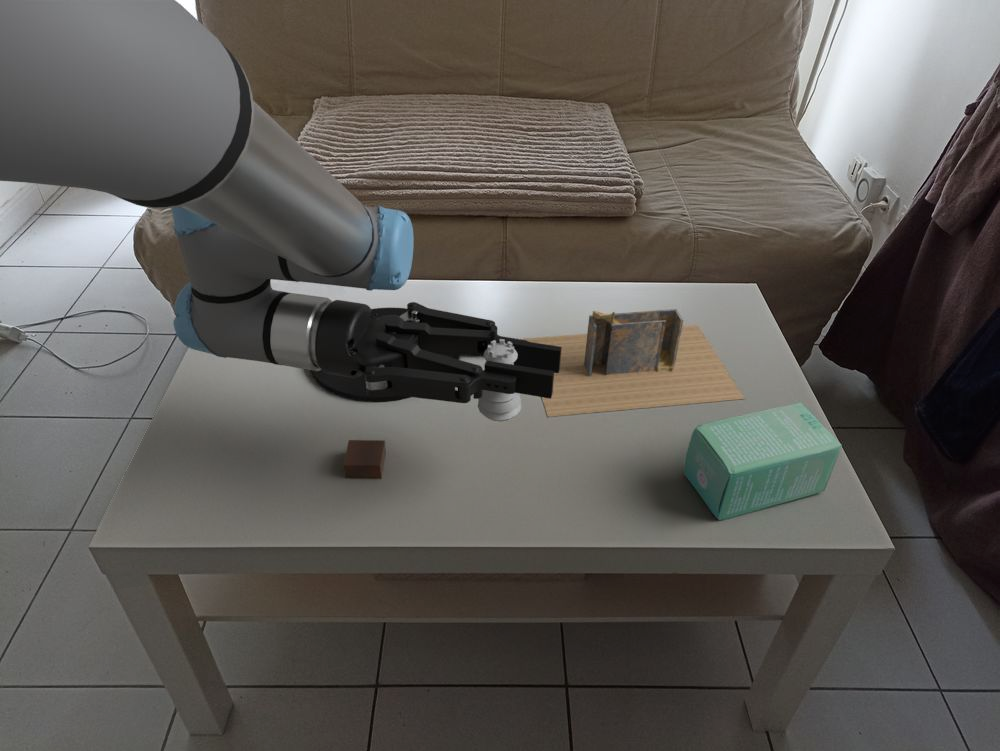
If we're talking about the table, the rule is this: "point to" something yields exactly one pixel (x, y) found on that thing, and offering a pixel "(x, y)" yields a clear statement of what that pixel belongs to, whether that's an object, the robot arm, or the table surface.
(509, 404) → the rook chess piece
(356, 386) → the pan
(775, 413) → the box
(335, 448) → the table surface
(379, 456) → the block
